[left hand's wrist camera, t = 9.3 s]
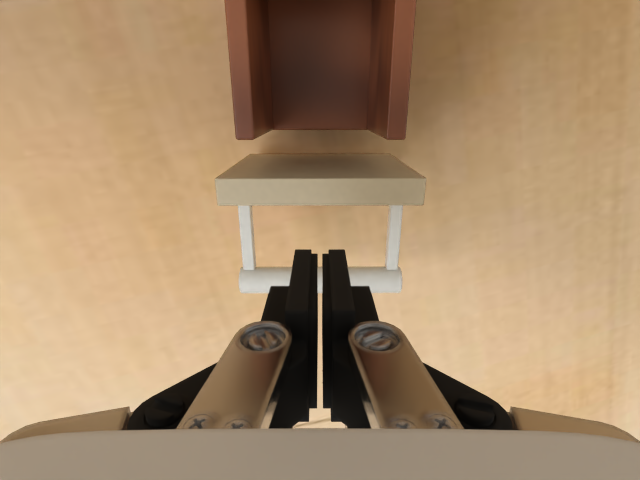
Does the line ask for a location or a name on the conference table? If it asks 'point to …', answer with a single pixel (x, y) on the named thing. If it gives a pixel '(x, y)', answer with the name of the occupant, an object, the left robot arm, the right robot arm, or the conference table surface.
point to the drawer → (320, 116)
